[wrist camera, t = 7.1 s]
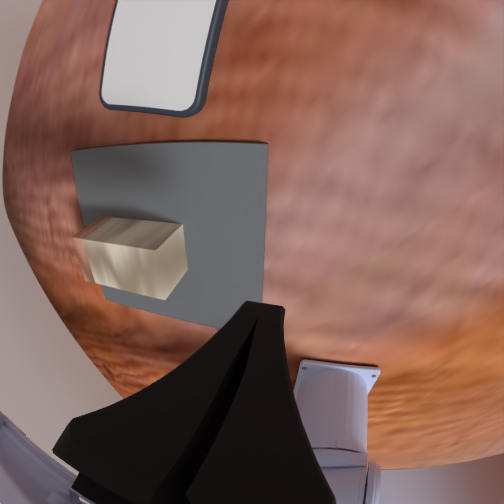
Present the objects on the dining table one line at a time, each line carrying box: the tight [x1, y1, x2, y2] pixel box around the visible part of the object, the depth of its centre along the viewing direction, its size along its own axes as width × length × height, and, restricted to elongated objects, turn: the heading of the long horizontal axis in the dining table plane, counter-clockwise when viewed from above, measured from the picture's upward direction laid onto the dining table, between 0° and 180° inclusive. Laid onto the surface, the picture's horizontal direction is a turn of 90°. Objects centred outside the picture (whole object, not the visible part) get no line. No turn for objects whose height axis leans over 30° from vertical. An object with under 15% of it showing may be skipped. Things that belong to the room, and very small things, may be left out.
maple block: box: [72, 216, 188, 300], centre depth 21 cm, size 4×4×8 cm
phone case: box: [100, 0, 229, 118], centre depth 13 cm, size 9×2×16 cm
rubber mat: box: [71, 141, 268, 329], centre depth 22 cm, size 16×17×1 cm
